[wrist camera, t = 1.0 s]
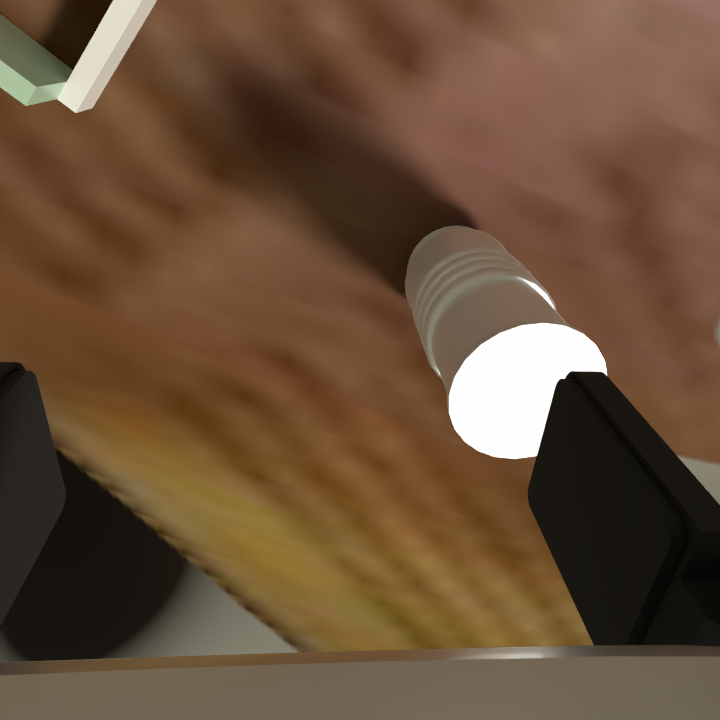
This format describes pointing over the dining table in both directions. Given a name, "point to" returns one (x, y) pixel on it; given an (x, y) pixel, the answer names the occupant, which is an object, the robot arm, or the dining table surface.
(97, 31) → the finger lane
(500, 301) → the candle
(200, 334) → the dining table surface
